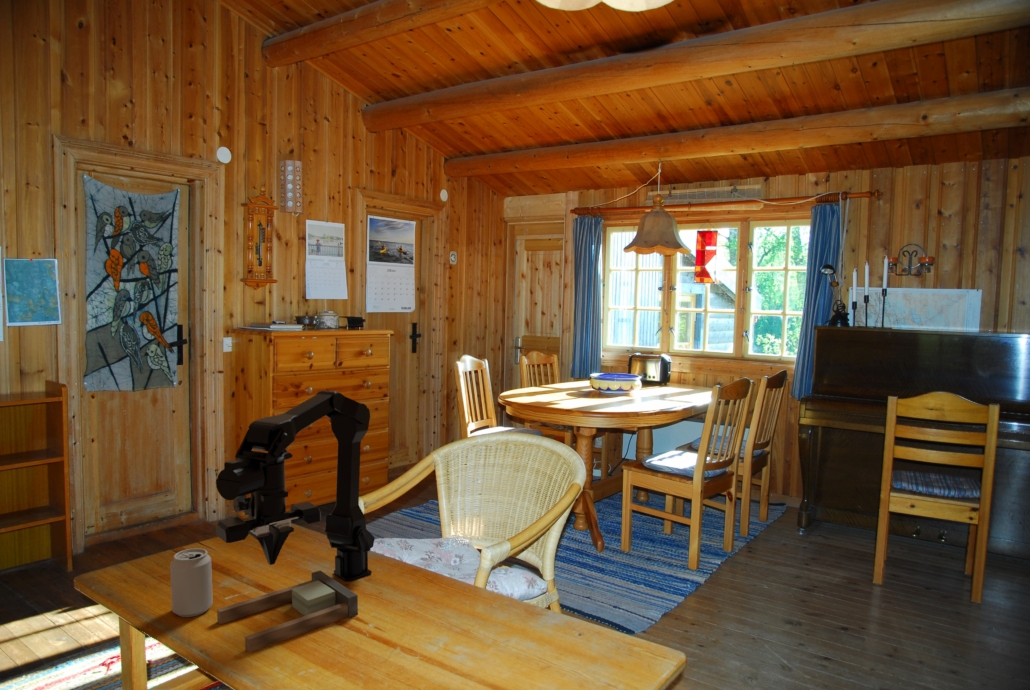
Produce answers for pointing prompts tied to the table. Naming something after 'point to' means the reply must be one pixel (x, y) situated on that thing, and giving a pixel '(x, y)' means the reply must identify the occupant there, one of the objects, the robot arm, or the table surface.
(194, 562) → the can
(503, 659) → the table surface
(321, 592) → the block
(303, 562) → the table surface
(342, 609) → the bay
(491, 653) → the table surface
